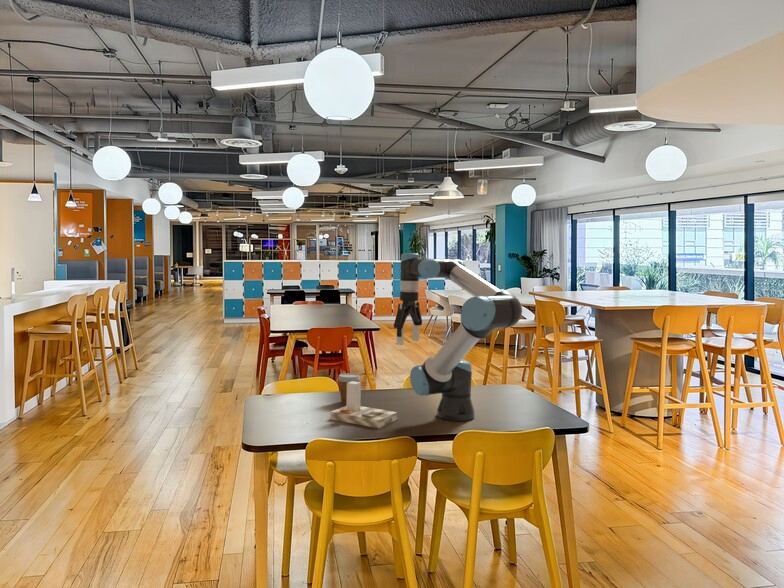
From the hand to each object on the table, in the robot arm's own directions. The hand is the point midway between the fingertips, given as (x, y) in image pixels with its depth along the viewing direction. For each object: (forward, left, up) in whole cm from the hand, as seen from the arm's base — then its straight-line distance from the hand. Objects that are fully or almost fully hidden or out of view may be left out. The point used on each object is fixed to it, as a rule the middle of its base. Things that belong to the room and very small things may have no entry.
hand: (407, 342), depth 254 cm
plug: (+13, +20, -29) cm, 37 cm away
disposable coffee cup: (+28, +1, -29) cm, 40 cm away
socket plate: (+8, +20, -29) cm, 36 cm away
